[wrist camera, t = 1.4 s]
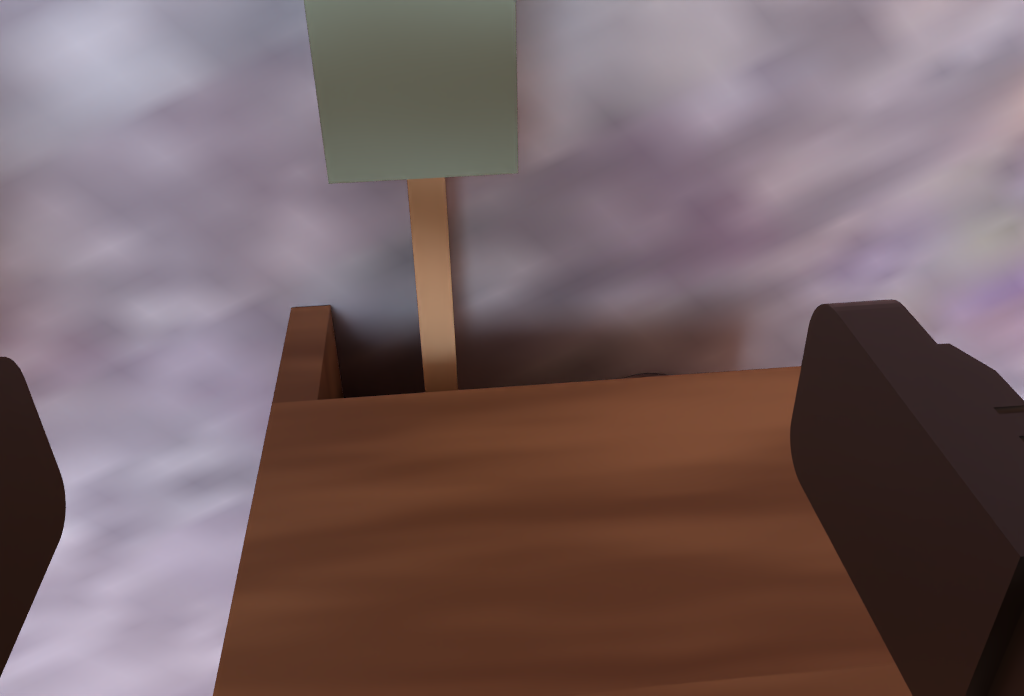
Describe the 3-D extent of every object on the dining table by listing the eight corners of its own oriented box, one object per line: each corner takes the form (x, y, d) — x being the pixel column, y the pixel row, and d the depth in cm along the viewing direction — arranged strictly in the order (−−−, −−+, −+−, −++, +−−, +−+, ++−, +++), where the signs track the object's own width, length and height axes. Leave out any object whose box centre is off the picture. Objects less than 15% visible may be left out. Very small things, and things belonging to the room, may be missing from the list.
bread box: (280, 300, 29) (171, 783, 15) (791, 268, 30) (1101, 693, 17) (337, 616, 37) (297, 1114, 23) (738, 582, 38) (918, 1038, 25)
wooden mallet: (327, -79, 23) (301, -17, 17) (487, -84, 23) (515, -25, 18) (401, 551, 35) (400, 712, 29) (505, 542, 35) (526, 700, 30)
